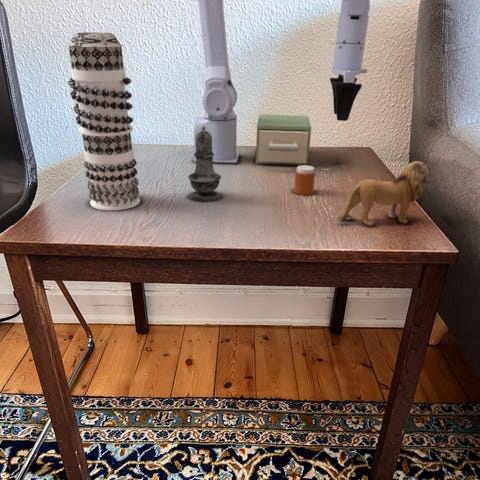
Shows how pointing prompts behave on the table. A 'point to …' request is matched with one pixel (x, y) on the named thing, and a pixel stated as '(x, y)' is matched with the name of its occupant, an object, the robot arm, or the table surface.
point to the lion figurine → (389, 192)
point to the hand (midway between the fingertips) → (340, 117)
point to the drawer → (283, 146)
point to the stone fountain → (204, 169)
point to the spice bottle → (304, 180)
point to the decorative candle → (104, 119)
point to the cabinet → (283, 124)
